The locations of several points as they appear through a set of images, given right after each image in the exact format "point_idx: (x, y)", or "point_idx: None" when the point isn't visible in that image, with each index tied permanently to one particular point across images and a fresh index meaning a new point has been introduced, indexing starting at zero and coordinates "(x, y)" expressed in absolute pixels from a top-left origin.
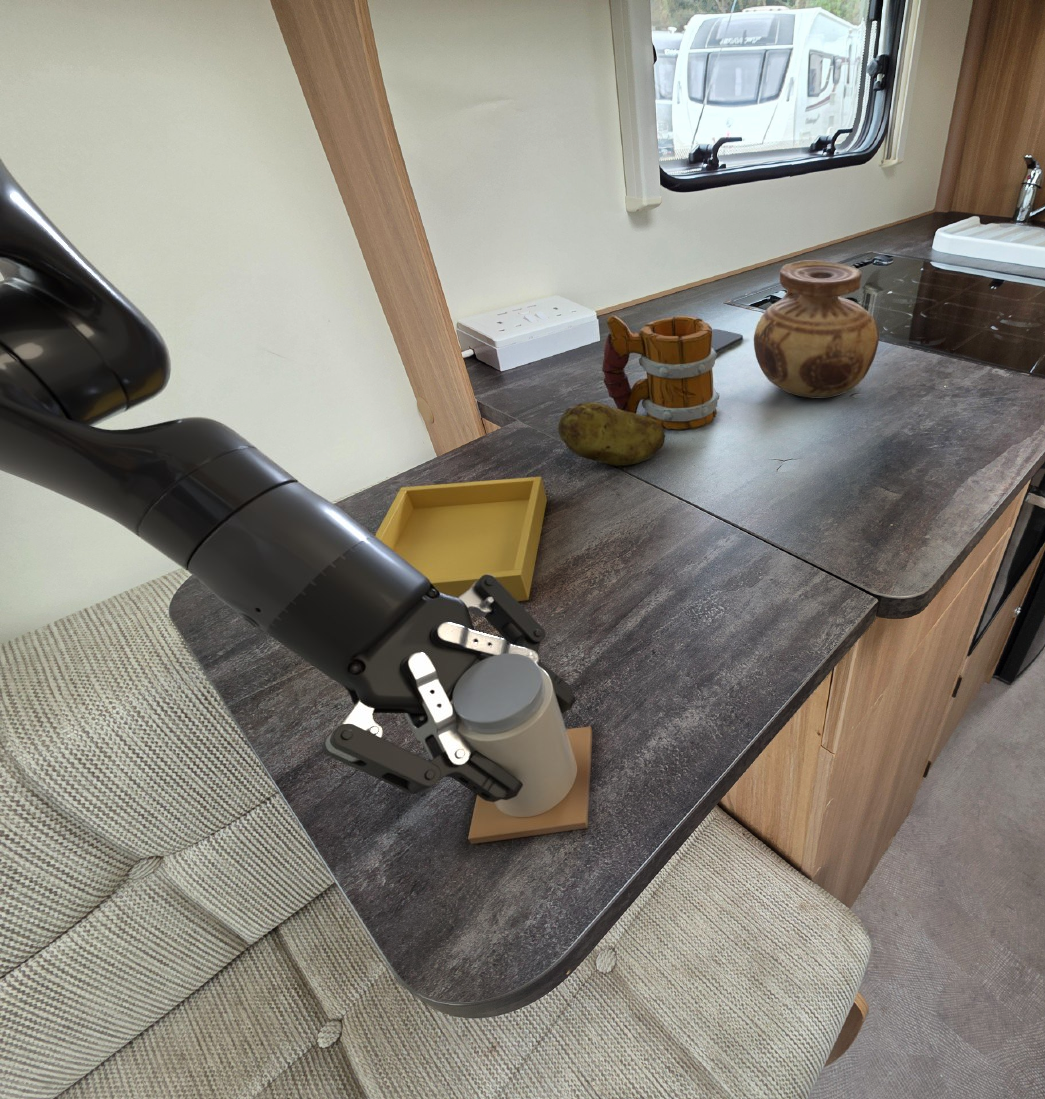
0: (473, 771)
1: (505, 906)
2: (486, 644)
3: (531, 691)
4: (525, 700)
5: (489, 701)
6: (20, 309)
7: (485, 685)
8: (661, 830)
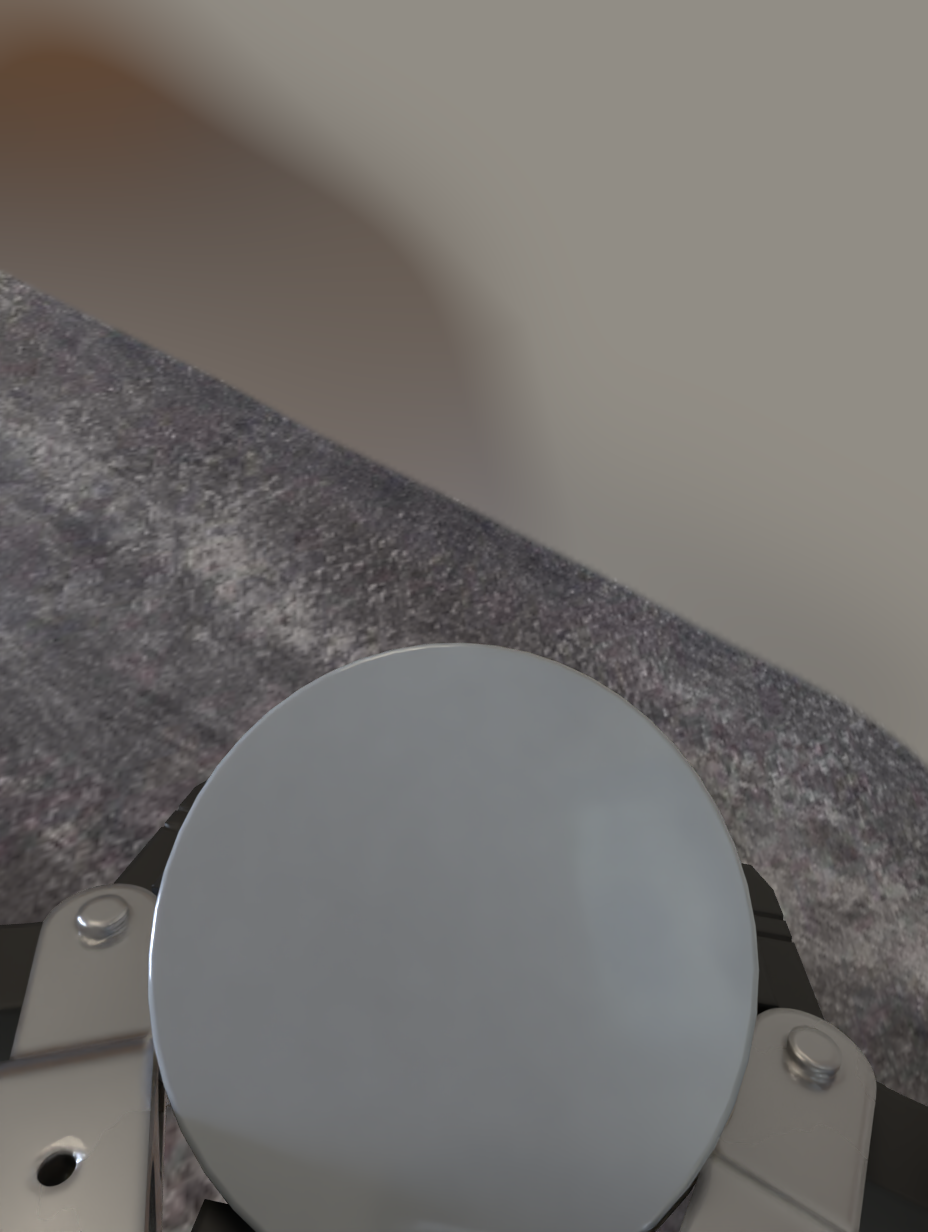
0: (781, 988)
1: (820, 896)
2: (63, 1196)
3: (472, 676)
4: (540, 685)
5: (585, 918)
6: None
7: (459, 1017)
8: (545, 566)
